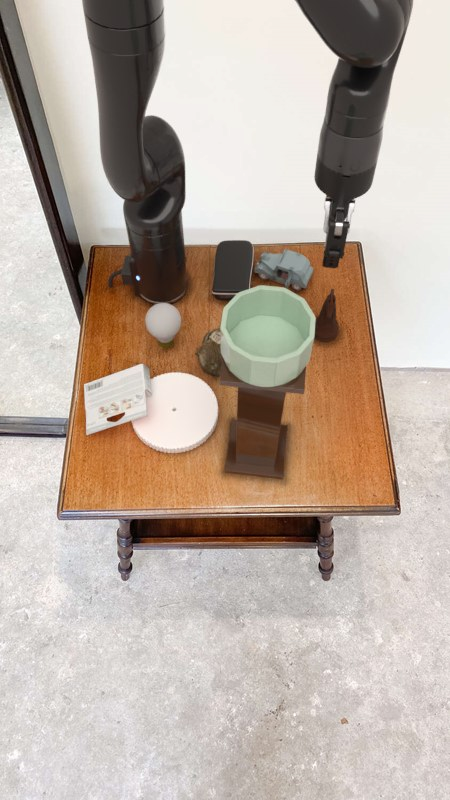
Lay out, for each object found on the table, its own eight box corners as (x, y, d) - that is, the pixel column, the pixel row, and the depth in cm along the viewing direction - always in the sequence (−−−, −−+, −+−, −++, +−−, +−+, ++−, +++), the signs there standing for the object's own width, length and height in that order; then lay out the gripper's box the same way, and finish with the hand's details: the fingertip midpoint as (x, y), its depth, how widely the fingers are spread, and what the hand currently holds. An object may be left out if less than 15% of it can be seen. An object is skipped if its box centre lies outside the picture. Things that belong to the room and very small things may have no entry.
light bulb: (164, 365, 110) (158, 330, 102) (142, 344, 113) (135, 308, 104) (190, 346, 112) (187, 311, 104) (169, 325, 115) (164, 289, 106)
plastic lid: (224, 448, 102) (224, 441, 100) (136, 462, 101) (134, 455, 99) (211, 374, 109) (211, 366, 107) (128, 386, 108) (126, 378, 106)
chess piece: (310, 340, 113) (317, 304, 104) (312, 317, 115) (319, 280, 107) (336, 344, 112) (345, 308, 104) (338, 320, 115) (347, 283, 106)
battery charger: (251, 303, 117) (256, 251, 122) (249, 291, 114) (254, 238, 118) (213, 303, 118) (219, 252, 123) (210, 291, 115) (216, 239, 119)
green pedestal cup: (219, 476, 100) (215, 356, 71) (227, 417, 105) (227, 281, 76) (287, 484, 100) (312, 366, 70) (292, 424, 105) (317, 290, 76)
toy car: (262, 260, 122) (263, 242, 118) (312, 276, 120) (315, 258, 116) (249, 285, 119) (250, 267, 115) (300, 302, 117) (303, 284, 113)
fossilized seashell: (234, 315, 113) (185, 345, 111) (240, 311, 106) (188, 343, 105) (256, 352, 113) (208, 382, 112) (264, 351, 107) (212, 383, 106)
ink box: (150, 368, 105) (155, 420, 101) (90, 389, 108) (93, 441, 104) (143, 361, 103) (148, 414, 99) (82, 382, 106) (85, 435, 102)
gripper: (321, 112, 84) (309, 207, 98) (314, 188, 77) (302, 279, 91) (379, 116, 84) (358, 211, 98) (378, 193, 77) (355, 284, 91)
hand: (331, 244), depth 94 cm, fingers open, 8 cm apart
